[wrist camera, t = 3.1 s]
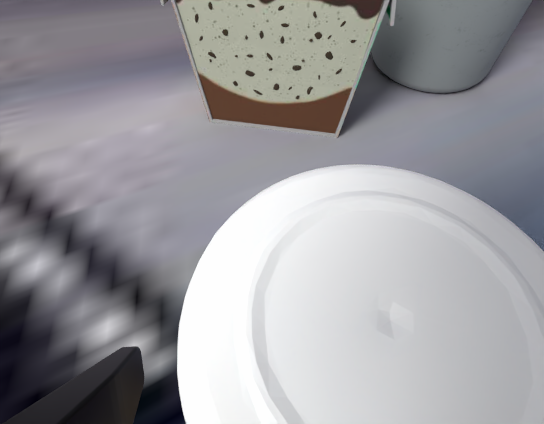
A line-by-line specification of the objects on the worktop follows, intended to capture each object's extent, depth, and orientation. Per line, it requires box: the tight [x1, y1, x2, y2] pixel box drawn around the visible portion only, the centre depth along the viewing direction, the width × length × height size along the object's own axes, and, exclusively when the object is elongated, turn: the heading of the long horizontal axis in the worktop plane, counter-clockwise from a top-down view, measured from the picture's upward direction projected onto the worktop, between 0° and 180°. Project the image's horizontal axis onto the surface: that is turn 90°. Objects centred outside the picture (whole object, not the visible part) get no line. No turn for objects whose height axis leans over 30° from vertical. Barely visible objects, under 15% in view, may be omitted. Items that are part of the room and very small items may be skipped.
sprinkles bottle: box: [177, 164, 544, 424], centre depth 9 cm, size 5×5×13 cm
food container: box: [161, 0, 396, 138], centre depth 22 cm, size 12×6×10 cm, turn 80°
